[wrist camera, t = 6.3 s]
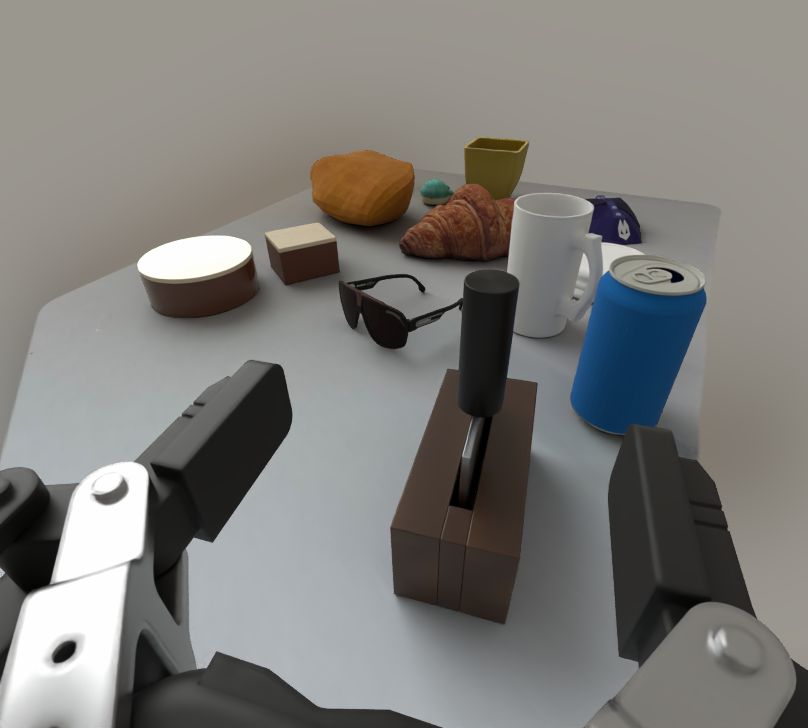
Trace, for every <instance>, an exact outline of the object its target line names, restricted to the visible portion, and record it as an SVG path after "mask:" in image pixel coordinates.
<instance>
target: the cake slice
mask: <svg viewBox="0 0 808 728" xmlns="http://www.w3.org/2000/svg"><path fill="white" fill-rule="evenodd" d="M265 238H266V243H267V248H268V253H269V258H270V263H271V267H272V268H273V270H274V271H275V272H276V273H277V275H278V276H279V277H280V279H281V280H282V281H283V282H284V284H285V285H287V284H291V283H295V282H299V281H303V280H308V279H312V278H316V277H320V276H324V275H329V274H333V273H337V272H340V270H339V260H338V251H337V241H336V237H335V236H334V235H333V234H332V233H330V232H329V231H328V230H327V229H326V228H324V227H323V226H322V225H321V224H320V223H313V224H307V225H302V226H297V227H292V228H287V229H281V230H276V231H271V232H266V233H265Z"/></svg>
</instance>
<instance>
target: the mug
mask: <svg viewBox="0 0 808 728" xmlns="http://www.w3.org/2000/svg"><path fill="white" fill-rule="evenodd" d="M593 210H594V206H593V205H592V204H591V203H590V202H589V201H587V200H585V199H582V198H579V197H576V196H571V195H566V194H558V193H534V194H528V195H524V196H521V197H519V198H517V199H516V200H515V202H514V212H513V219H512V228H511V238H510V249H509V259H508V269H507V273H510V274H512V275H514V276H515V277H516V278H517V279H518V280H519V283H520V286H519V293H518V300H517V307H516V315H515V322H514V329H513V332H515V333H518V334H520V335H524V336H528V337H535V338H545V337H551V336H554V335H557V334H559V333H560V332H562V331H563V329H564V328H565V325H566V322H567V318H568V319H569V320H571V321H576V320H578V319H581V318H582V317H583V315H584V314H585V312H586V311H587V310H588V308H589V307H590V305H591V304H592V303H593V301H594V299H595V295H596V291H597V287H598V282H599V280H600V278H601V277H602V276H603V257H602V248H601V241H602V236H600V235H596V234H593V233H589V234H588V232H589V228H590V224H591V219H592V214H593ZM583 253H584V254H585V255H586V257H587V260H588V264H589V280H588V284H587V287H586V289H585V291H584V293H583V295H582V296H581V298H580V299H579V300H578V301H577V302H573V301H572V298H573V294H574V290H575V285H576V281H577V277H578V273H579V269H580V265H581V261H582V257H583Z"/></svg>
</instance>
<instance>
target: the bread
mask: <svg viewBox="0 0 808 728" xmlns="http://www.w3.org/2000/svg"><path fill="white" fill-rule="evenodd" d="M310 176H311V177H310V178H311V181H312V196H313V202H314V203H315V204H316V205H317V206H319V207H320V208H321V209H322V211H323V212H325V213H327V214H329V215H330V216H332V217H334V218H336V219H338V220H339V221H342V222H345V223H351V224H357V225H363V226H374V225H380V224H384V223H388V222H391V221H393V220H395V219H397V218H399V217H400V216H402V215H403V214H404V213H405V212H406V210H407V209H408V206H409V204H410V200H411V197H412V192H413V187H414V179H415V177H414V170H413V166H412V164H411V163H407V162H403V161H400V160H396V159H393V158H390V157H388V156H386V155H383V154H380V153H378V152H374V151H369V150H365V151H358V152H353V153H349V154H345V155H334V156H328V157H323V158H321V159H320V160H318V161H316V162H315V164H314V165H313V166H312V167H311V173H310Z"/></svg>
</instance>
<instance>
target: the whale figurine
mask: <svg viewBox="0 0 808 728" xmlns="http://www.w3.org/2000/svg"><path fill="white" fill-rule="evenodd" d="M449 189H450V188H449V186H447V185H445V183H443V182H442V181H440V180H436V179H434V180H429V181H428V182H426V183H425V184H424V185H423V187H422V189H421V199H422V201H423V202H424V203H426V204H433V205H442V204H445V203H446V202H447V201H448V198H451V197H452V196H453V195H454V193H453V191H452V190H449Z"/></svg>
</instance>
